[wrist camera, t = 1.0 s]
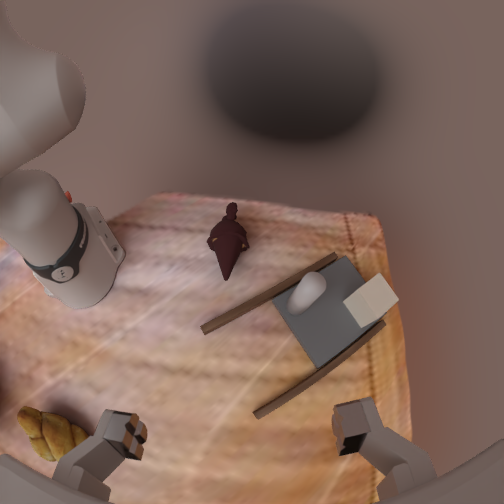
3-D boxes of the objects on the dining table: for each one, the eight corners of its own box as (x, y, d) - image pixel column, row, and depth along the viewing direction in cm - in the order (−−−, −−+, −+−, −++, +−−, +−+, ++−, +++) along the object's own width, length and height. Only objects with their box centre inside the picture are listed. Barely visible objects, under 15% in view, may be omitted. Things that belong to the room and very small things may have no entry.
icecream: (256, 274, 42) (254, 202, 50) (208, 265, 39) (216, 192, 48) (240, 292, 47) (242, 225, 55) (199, 285, 45) (206, 216, 53)
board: (271, 300, 46) (286, 274, 37) (343, 257, 52) (368, 227, 43) (316, 368, 41) (344, 360, 32) (384, 314, 47) (417, 293, 38)
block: (342, 301, 47) (357, 289, 41) (364, 285, 49) (379, 272, 43) (361, 328, 44) (378, 318, 39) (381, 310, 46) (399, 299, 41)
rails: (201, 328, 43) (200, 326, 41) (330, 256, 52) (334, 251, 50) (256, 418, 36) (258, 419, 35) (381, 327, 46) (386, 324, 44)
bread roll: (94, 422, 32) (72, 426, 25) (97, 471, 27) (77, 482, 20) (38, 404, 31) (12, 402, 24) (40, 450, 26) (15, 454, 19)
